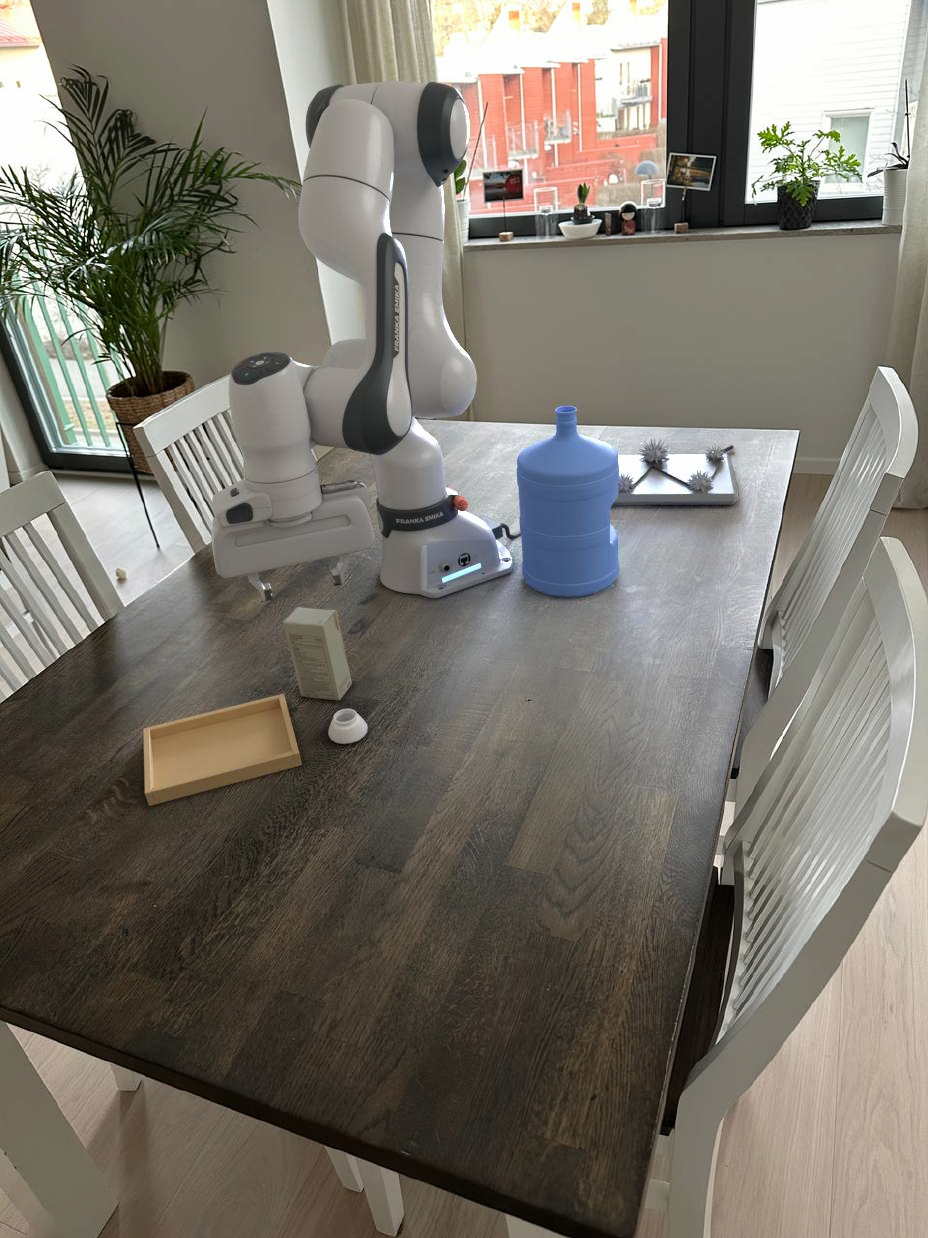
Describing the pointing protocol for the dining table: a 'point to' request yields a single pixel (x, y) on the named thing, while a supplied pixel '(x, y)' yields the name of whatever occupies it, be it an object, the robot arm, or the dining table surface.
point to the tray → (218, 749)
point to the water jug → (568, 511)
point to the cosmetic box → (318, 652)
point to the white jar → (347, 727)
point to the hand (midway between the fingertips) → (303, 591)
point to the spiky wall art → (676, 478)
